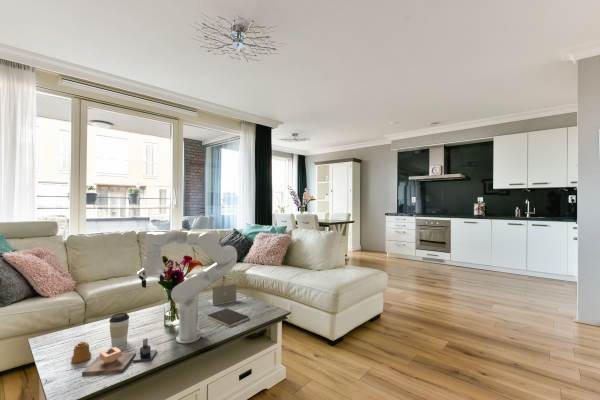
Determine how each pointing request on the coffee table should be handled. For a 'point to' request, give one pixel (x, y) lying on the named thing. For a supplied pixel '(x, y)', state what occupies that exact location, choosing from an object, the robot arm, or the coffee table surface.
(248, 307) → the coffee table surface
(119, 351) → the square peach frame
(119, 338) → the coffee cup
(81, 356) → the ornamental finial
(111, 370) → the toggle switch
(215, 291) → the laptop
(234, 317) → the hardcover book
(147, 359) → the stand
